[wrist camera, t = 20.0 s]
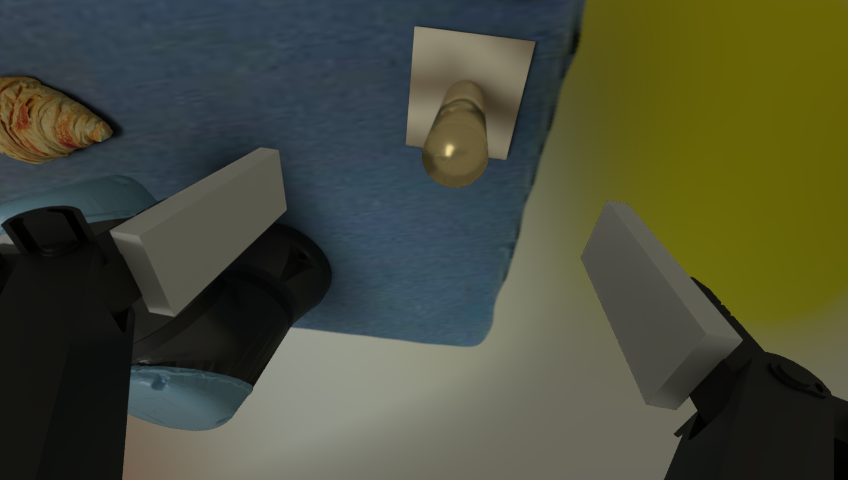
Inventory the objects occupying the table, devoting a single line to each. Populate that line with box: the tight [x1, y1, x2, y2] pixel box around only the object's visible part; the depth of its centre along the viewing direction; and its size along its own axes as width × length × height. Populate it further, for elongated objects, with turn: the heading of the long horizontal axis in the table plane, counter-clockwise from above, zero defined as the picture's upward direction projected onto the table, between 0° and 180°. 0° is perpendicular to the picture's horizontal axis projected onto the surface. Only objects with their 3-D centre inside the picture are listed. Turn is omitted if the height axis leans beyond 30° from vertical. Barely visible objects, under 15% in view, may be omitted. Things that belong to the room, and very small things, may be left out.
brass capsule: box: [422, 80, 489, 188], centre depth 27 cm, size 4×4×16 cm
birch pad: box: [406, 26, 535, 160], centre depth 33 cm, size 11×11×1 cm
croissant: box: [0, 77, 113, 164], centre depth 40 cm, size 21×10×8 cm, turn 85°
